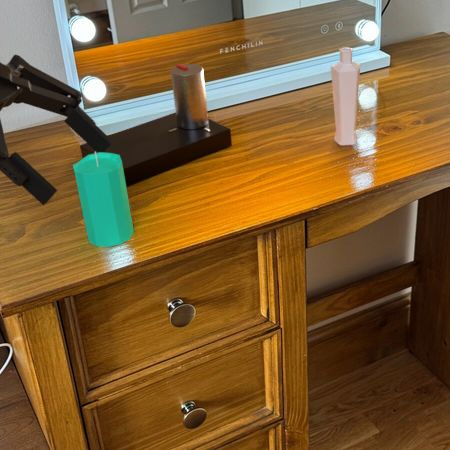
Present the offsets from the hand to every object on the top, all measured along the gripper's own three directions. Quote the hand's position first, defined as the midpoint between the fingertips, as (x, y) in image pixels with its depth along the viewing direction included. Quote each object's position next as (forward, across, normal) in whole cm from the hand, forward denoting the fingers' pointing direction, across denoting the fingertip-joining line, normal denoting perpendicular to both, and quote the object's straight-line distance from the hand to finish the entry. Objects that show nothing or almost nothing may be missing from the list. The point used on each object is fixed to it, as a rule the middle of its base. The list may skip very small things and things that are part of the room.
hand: (80, 172), depth 97 cm
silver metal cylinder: (+5, -29, -3) cm, 30 cm away
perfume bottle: (+25, -35, +12) cm, 44 cm away
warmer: (+5, -23, -8) cm, 25 cm away
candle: (+8, 0, -4) cm, 9 cm away
